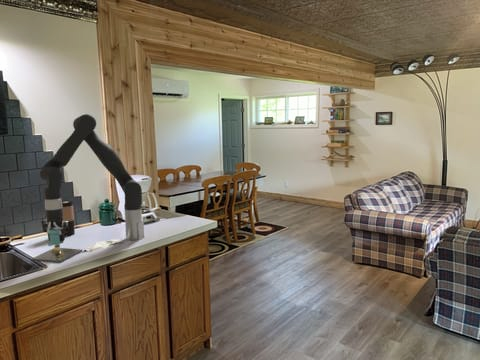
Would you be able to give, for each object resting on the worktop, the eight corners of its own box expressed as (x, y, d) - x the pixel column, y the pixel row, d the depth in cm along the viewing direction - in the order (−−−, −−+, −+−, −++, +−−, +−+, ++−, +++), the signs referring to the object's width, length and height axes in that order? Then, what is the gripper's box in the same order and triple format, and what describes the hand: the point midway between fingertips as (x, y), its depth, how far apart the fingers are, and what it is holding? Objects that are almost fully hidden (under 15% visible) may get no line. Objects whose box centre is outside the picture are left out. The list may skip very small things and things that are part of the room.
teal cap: (58, 239, 183) (57, 225, 182) (68, 240, 181) (67, 226, 180) (44, 245, 173) (42, 231, 172) (54, 246, 172) (53, 232, 171)
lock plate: (82, 251, 184) (81, 241, 183) (60, 263, 169) (59, 251, 168) (55, 249, 188) (54, 239, 187) (31, 260, 172) (30, 249, 171)
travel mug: (61, 237, 208) (58, 203, 205) (60, 233, 215) (58, 200, 212) (75, 235, 212) (73, 202, 208) (74, 231, 218) (72, 199, 215)
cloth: (120, 238, 208) (120, 234, 208) (132, 243, 198) (131, 239, 198) (74, 248, 190) (73, 244, 190) (84, 255, 180) (83, 251, 180)
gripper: (72, 206, 177) (74, 239, 179) (46, 205, 180) (49, 237, 182) (61, 210, 169) (64, 244, 172) (35, 208, 172) (38, 242, 175)
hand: (56, 240), depth 177 cm, fingers closed on teal cap, 5 cm apart
